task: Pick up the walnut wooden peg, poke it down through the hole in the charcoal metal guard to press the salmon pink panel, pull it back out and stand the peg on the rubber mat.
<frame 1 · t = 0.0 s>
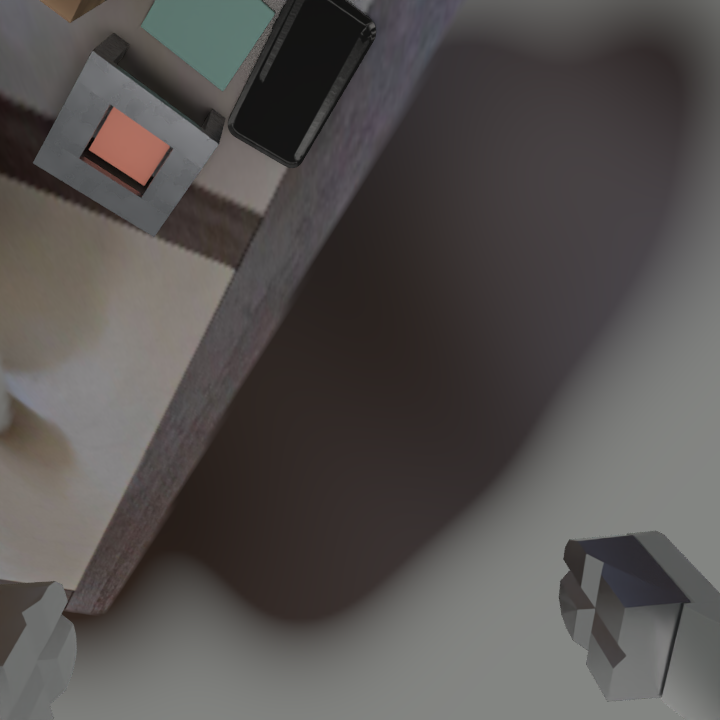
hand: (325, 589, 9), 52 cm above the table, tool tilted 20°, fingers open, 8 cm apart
guard: (142, 126, 53), on the table
salmon pink panel: (133, 141, 50), point 4 cm above the table, slide at 0.0 cm
phone: (298, 77, 53), on the table
mat: (208, 19, 48), on the table
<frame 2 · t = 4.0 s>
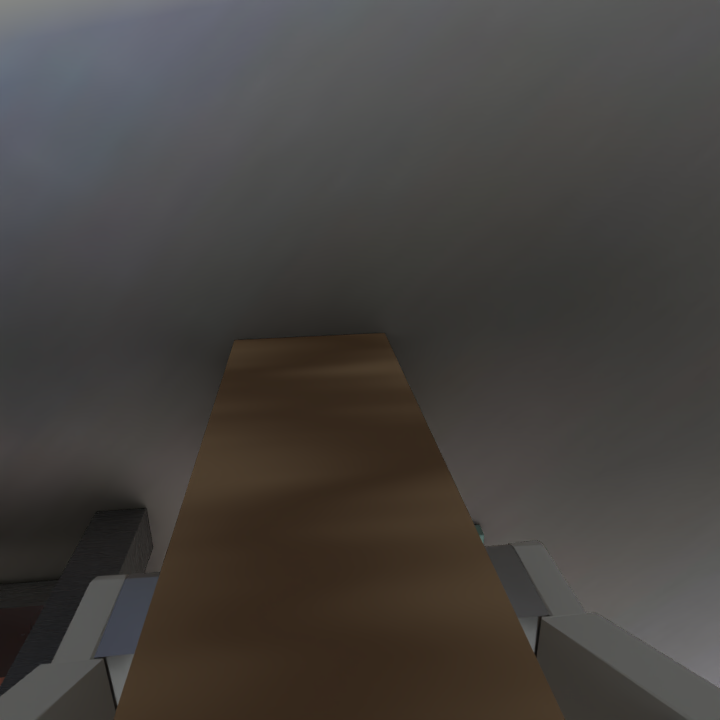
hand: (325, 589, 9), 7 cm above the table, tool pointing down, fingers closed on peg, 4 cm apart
peg: (313, 404, 16), on the table, touching gripper
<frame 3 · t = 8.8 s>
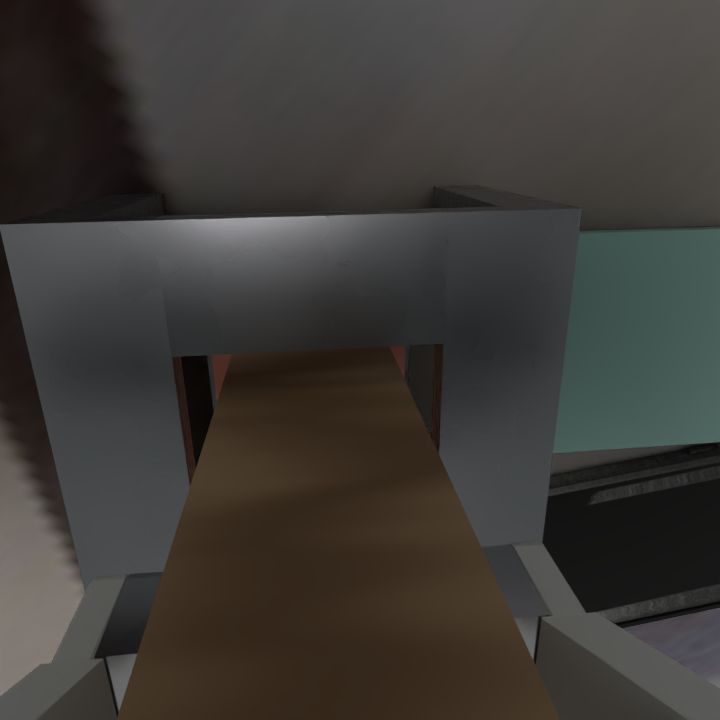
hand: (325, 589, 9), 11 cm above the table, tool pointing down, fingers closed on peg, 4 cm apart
guard: (309, 358, 19), on the table
salmon pink panel: (311, 388, 17), point 2 cm above the table, slide at 1.4 cm, touching peg
peg: (314, 407, 16), point 4 cm above the table, touching gripper, salmon pink panel
phone: (619, 531, 24), on the table
mat: (633, 342, 20), on the table
when the fingers open (9 cm above the table, at t = 14.8 s): peg stays where it is, resting on mat.
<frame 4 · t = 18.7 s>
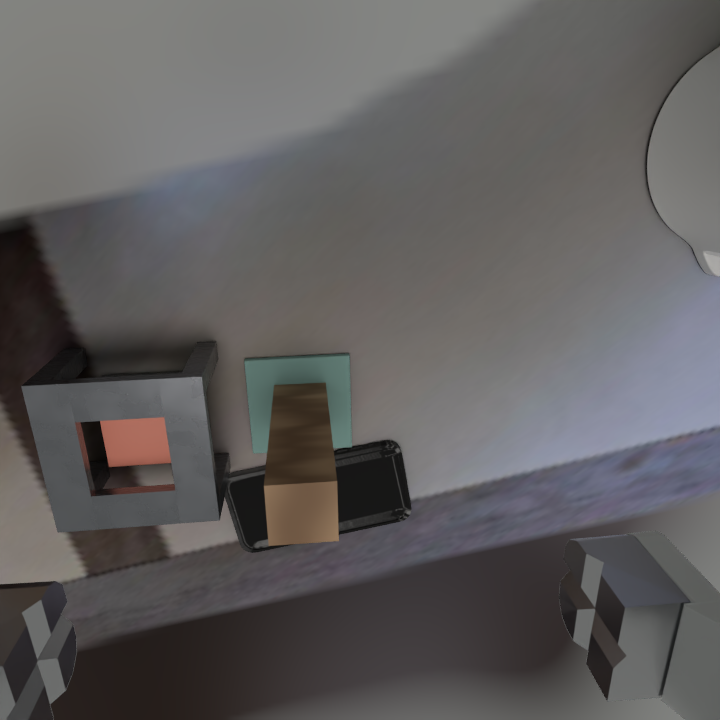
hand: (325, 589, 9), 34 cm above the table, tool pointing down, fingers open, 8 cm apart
guard: (152, 411, 44), on the table
salmon pink panel: (144, 426, 42), point 2 cm above the table, slide at 1.4 cm
peg: (301, 407, 45), resting on mat
phone: (319, 490, 49), on the table
mat: (300, 403, 45), on the table
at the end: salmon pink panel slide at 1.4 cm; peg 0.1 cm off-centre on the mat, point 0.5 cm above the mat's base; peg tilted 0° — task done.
